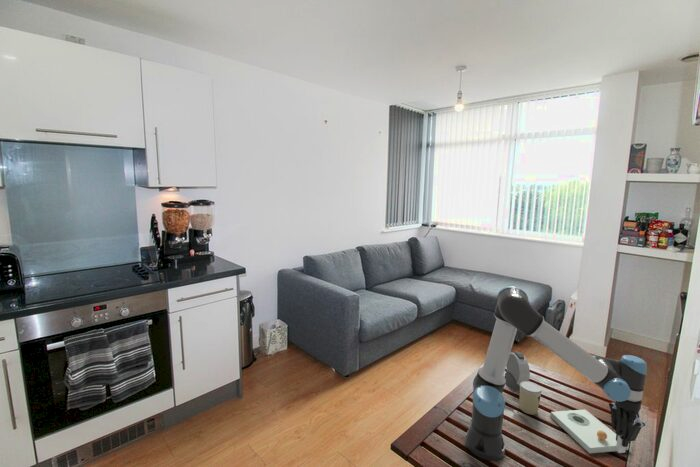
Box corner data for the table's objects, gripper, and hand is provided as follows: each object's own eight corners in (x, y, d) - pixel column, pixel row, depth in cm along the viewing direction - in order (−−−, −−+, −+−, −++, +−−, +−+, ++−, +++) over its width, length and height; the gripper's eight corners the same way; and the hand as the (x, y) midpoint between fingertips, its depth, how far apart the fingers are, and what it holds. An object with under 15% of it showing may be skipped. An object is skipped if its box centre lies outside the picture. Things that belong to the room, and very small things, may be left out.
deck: (628, 450, 138) (629, 444, 137) (589, 453, 135) (590, 447, 135) (584, 414, 159) (585, 409, 159) (550, 416, 157) (550, 411, 156)
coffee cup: (542, 417, 156) (544, 393, 155) (520, 414, 158) (523, 390, 156) (535, 404, 165) (538, 382, 164) (515, 401, 167) (517, 379, 166)
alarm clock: (533, 393, 174) (536, 361, 172) (513, 393, 174) (516, 360, 172) (517, 376, 190) (521, 346, 188) (500, 375, 190) (503, 345, 188)
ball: (601, 442, 138) (602, 434, 138) (594, 436, 142) (595, 428, 141) (608, 441, 139) (609, 434, 138) (601, 435, 142) (602, 428, 142)
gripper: (654, 406, 123) (645, 464, 126) (621, 385, 135) (613, 438, 139) (636, 407, 122) (627, 465, 125) (605, 386, 134) (597, 439, 138)
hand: (620, 451), depth 132 cm, fingers closed
